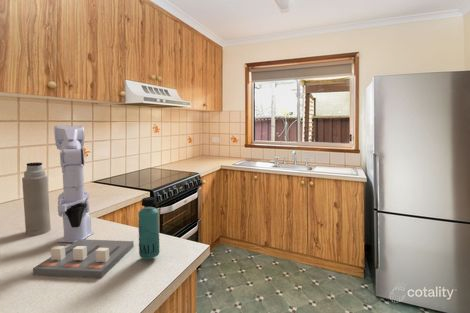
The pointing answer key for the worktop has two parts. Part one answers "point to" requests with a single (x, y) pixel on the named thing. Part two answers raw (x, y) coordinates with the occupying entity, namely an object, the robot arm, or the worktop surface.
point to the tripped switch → (80, 253)
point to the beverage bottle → (148, 229)
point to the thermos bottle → (36, 200)
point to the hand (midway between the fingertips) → (75, 226)
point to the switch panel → (94, 266)
